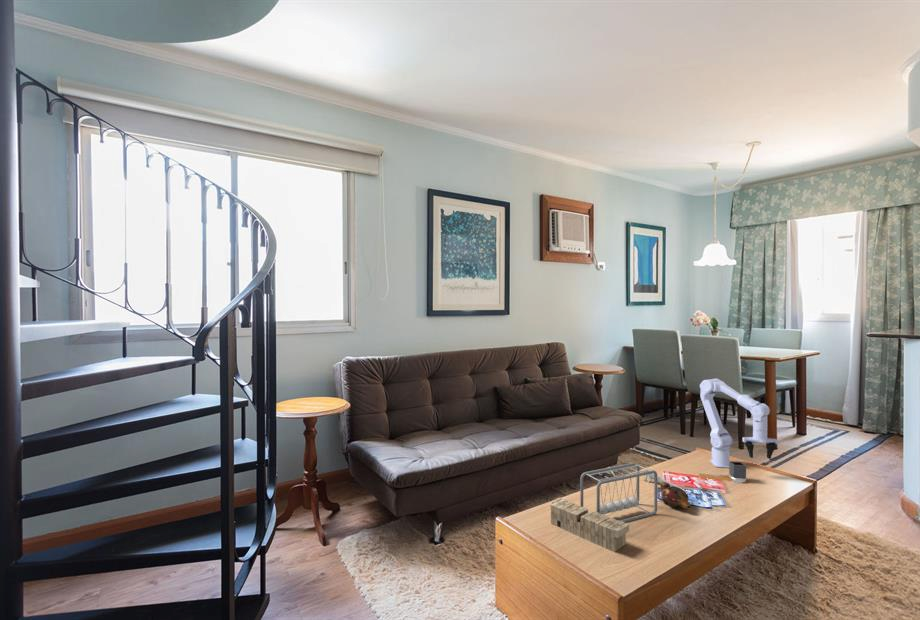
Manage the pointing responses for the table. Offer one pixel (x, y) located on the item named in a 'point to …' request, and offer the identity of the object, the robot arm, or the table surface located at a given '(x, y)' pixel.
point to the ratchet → (722, 477)
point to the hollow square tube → (737, 470)
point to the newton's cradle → (625, 502)
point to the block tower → (589, 524)
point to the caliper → (659, 480)
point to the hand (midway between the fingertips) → (759, 457)
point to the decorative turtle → (674, 496)
